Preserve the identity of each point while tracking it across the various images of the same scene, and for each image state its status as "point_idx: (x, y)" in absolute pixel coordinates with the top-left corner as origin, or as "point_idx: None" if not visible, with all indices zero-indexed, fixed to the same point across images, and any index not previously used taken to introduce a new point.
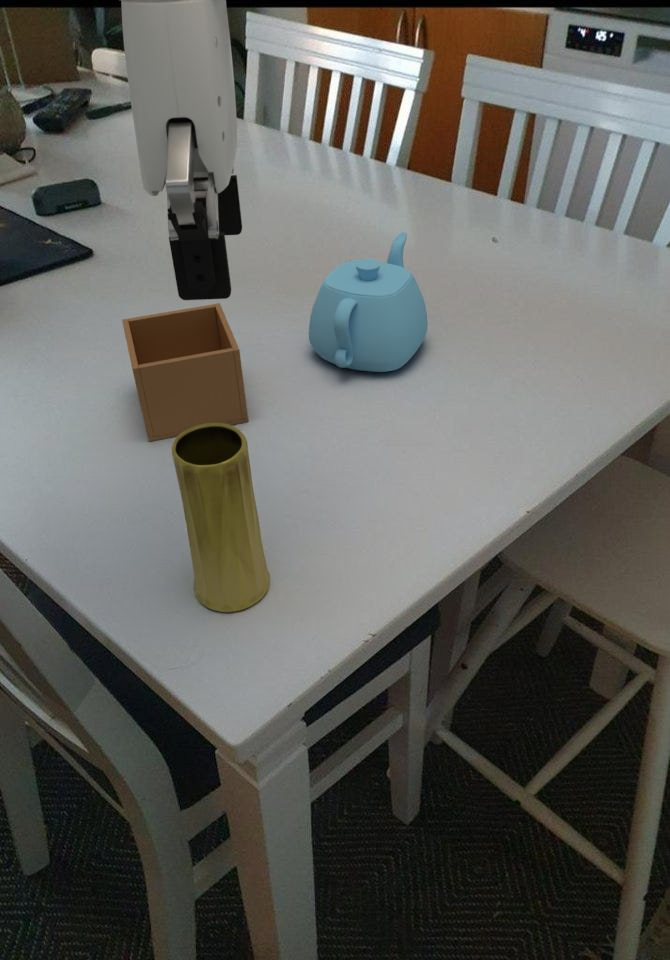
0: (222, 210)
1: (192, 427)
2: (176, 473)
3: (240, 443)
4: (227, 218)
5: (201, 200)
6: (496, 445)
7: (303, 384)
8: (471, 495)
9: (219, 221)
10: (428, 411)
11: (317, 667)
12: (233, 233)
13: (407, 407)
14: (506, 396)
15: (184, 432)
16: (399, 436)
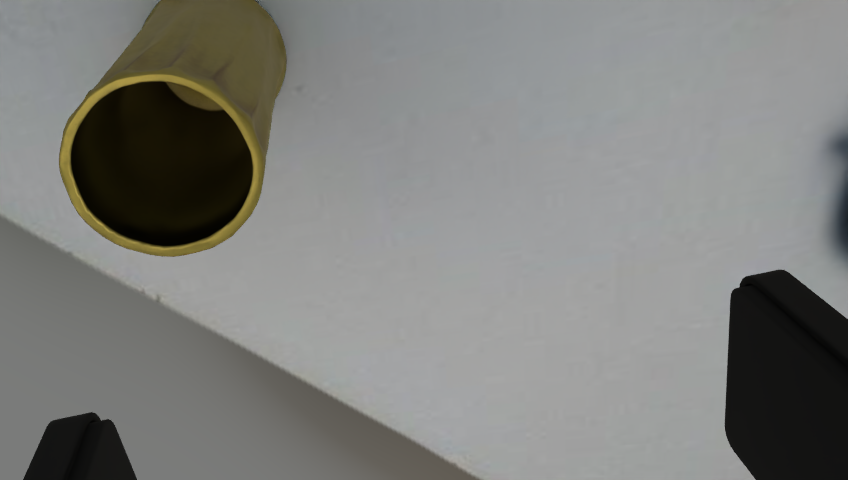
0: (793, 462)
1: (225, 106)
2: (138, 56)
3: (225, 218)
4: (765, 452)
5: (838, 420)
6: (612, 416)
7: (840, 63)
8: (487, 394)
9: (764, 408)
10: (715, 310)
11: (70, 236)
12: (726, 419)
13: (731, 275)
14: None
15: (199, 90)
16: (644, 273)
